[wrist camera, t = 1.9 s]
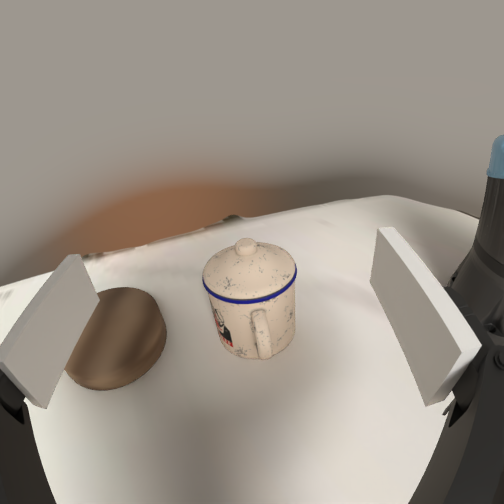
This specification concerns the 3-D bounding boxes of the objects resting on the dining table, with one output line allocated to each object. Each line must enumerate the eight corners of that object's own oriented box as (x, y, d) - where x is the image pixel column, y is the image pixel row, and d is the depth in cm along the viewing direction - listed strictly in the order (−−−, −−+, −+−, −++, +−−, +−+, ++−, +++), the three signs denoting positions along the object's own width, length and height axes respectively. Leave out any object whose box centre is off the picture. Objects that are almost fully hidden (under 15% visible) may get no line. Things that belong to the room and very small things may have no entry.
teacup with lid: (215, 311, 36) (196, 228, 30) (286, 298, 36) (282, 214, 30) (223, 391, 25) (194, 304, 19) (314, 374, 26) (322, 282, 20)
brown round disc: (176, 301, 38) (171, 284, 36) (151, 396, 25) (140, 381, 24) (89, 304, 39) (81, 289, 37) (49, 381, 26) (36, 366, 24)
